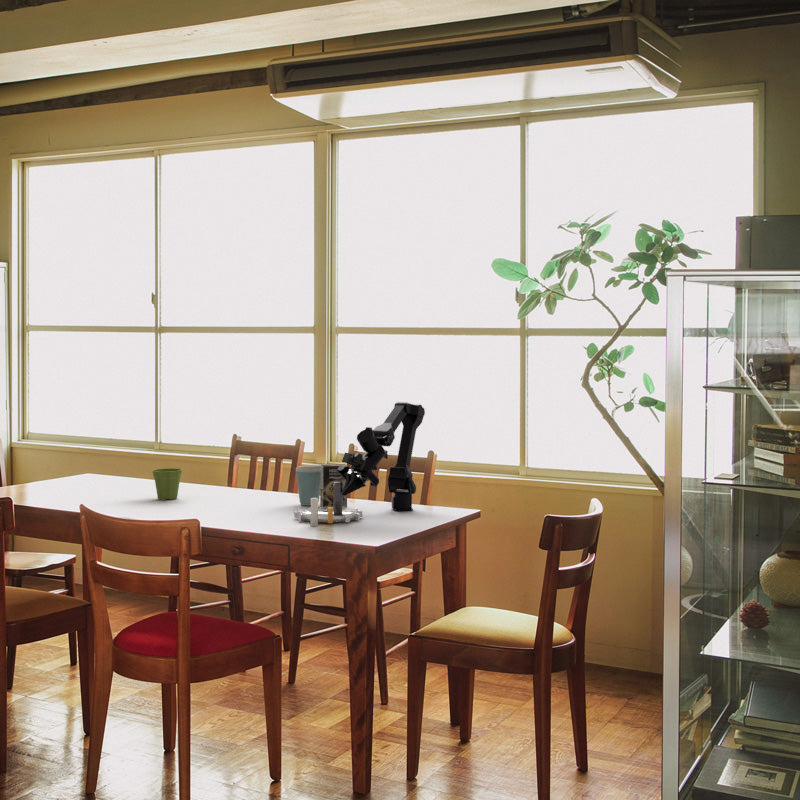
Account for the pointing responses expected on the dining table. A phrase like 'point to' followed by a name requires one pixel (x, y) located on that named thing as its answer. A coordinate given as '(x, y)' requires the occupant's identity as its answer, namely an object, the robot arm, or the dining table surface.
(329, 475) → the coffee box
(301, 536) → the dining table surface
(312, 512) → the pointer post
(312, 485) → the disposable coffee cup
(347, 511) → the sprocket
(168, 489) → the plant pot
